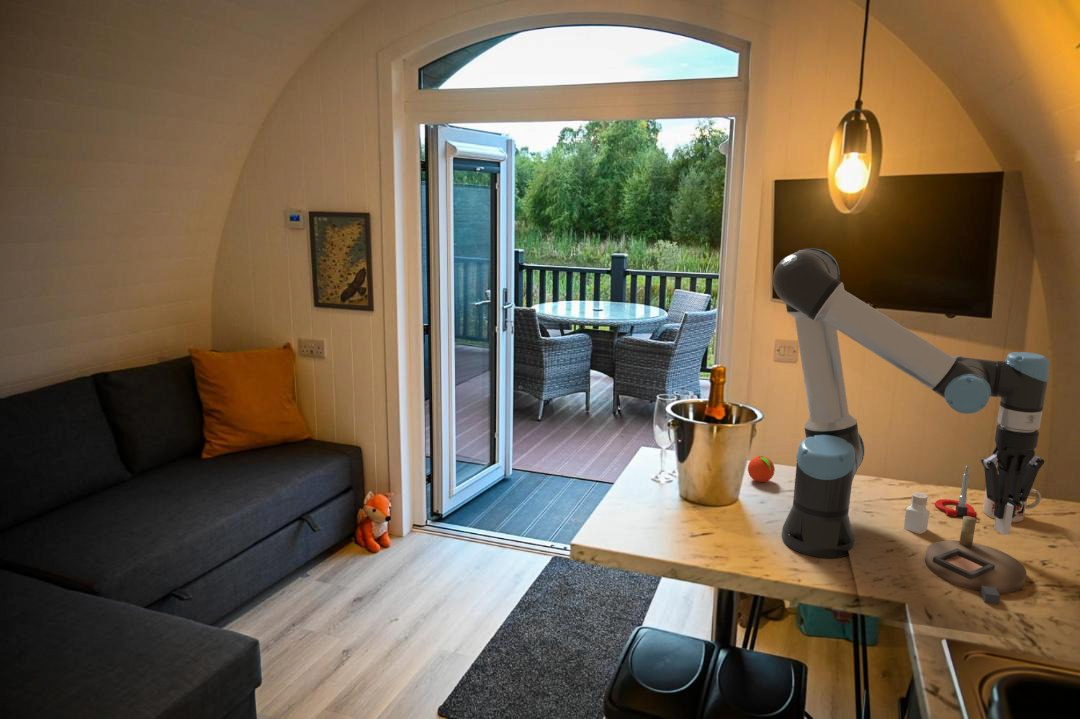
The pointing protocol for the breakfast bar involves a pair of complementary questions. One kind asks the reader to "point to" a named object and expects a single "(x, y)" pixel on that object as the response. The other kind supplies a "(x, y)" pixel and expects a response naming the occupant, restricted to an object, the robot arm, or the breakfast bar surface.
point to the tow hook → (961, 505)
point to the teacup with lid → (1020, 511)
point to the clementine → (761, 469)
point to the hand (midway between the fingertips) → (1001, 531)
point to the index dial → (974, 563)
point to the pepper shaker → (917, 514)
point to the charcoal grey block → (990, 595)
